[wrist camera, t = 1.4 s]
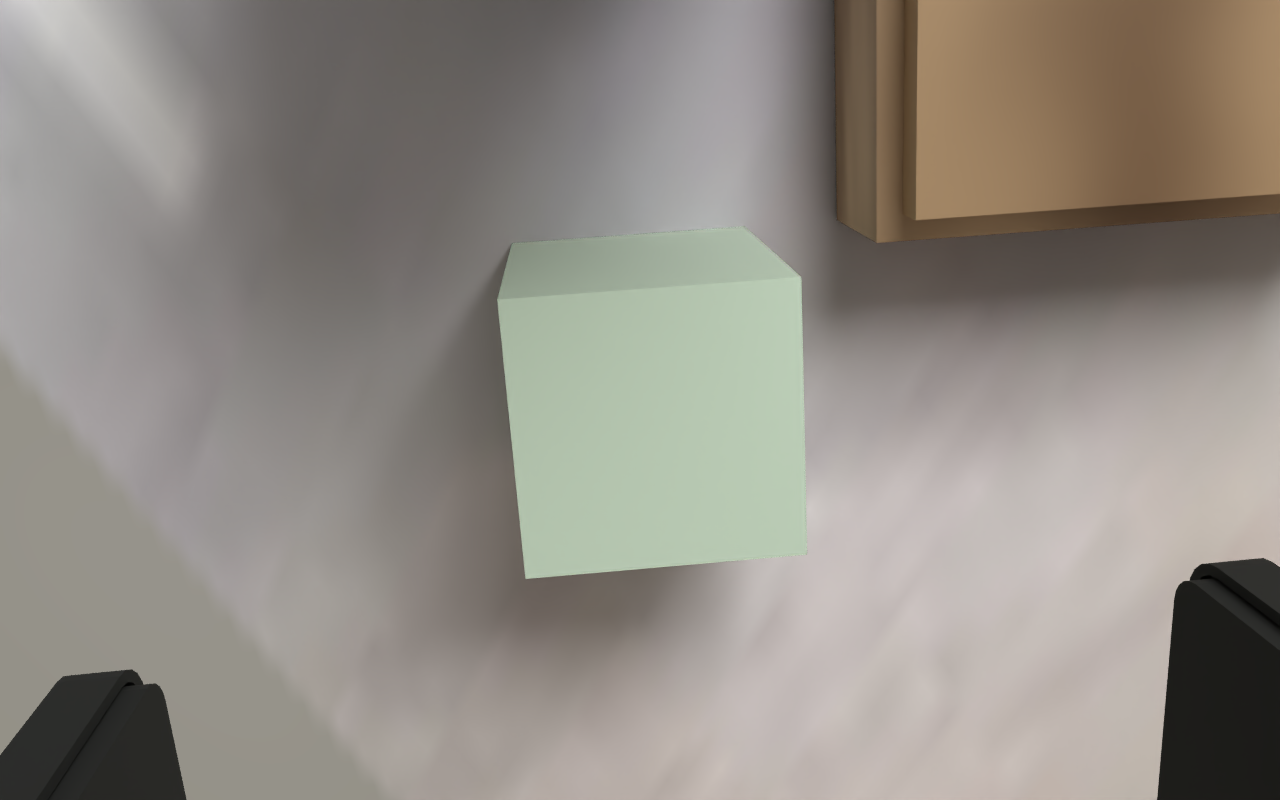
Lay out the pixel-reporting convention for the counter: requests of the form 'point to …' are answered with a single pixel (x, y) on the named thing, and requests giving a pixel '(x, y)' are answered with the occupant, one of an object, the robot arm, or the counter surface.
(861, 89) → the walnut pedestal
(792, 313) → the sage block
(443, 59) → the counter surface
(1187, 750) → the robot arm
